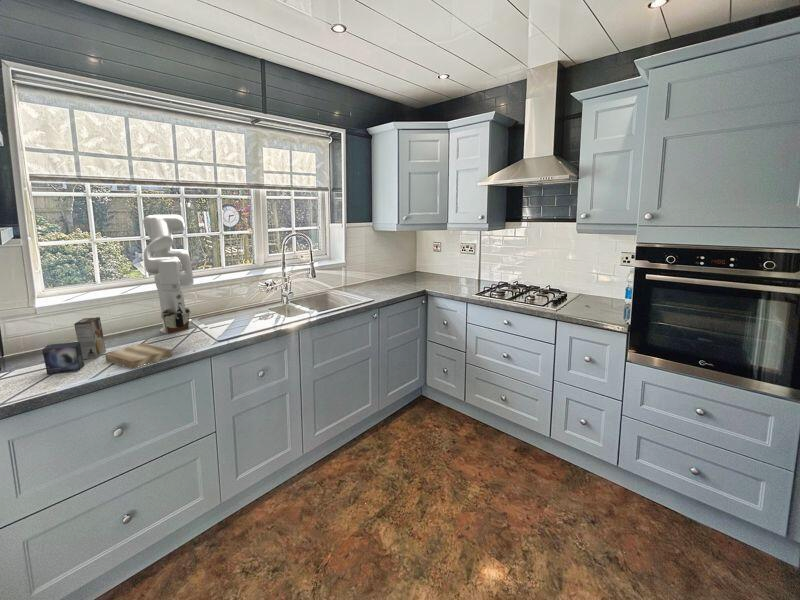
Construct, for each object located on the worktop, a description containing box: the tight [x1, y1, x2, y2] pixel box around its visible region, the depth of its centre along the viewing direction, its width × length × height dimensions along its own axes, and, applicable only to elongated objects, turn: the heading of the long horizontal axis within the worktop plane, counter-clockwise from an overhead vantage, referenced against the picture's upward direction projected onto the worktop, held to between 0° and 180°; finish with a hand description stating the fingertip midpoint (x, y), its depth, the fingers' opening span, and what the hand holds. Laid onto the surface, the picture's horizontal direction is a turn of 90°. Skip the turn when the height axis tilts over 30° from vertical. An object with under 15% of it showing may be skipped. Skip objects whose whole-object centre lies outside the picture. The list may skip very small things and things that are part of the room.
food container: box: [160, 307, 191, 336], centre depth 183 cm, size 12×6×10 cm, turn 143°
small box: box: [41, 341, 85, 375], centre depth 158 cm, size 11×6×10 cm, turn 114°
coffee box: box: [73, 316, 107, 360], centre depth 173 cm, size 9×6×16 cm
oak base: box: [105, 342, 173, 369], centre depth 171 cm, size 16×20×3 cm
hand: (175, 325), depth 184 cm, fingers closed on food container, 5 cm apart
